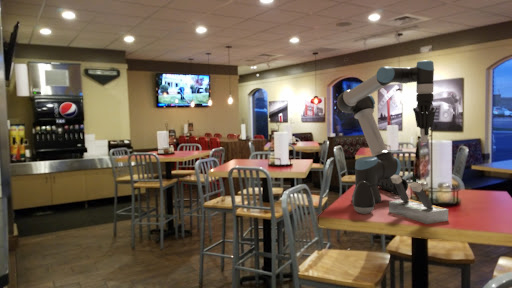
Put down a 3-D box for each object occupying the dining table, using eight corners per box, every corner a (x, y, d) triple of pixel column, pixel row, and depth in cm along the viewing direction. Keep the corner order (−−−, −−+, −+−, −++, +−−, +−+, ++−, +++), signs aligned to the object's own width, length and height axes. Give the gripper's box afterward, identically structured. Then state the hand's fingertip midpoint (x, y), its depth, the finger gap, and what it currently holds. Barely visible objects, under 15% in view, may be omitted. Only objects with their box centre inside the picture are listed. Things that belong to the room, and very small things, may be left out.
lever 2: (424, 209, 170) (409, 185, 166) (428, 205, 171) (413, 181, 167) (431, 211, 167) (415, 187, 163) (435, 207, 168) (419, 182, 164)
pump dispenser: (371, 216, 177) (371, 183, 176) (349, 213, 183) (349, 181, 182) (377, 211, 186) (378, 180, 185) (356, 209, 191) (356, 178, 190)
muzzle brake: (392, 196, 219) (392, 178, 218) (371, 187, 247) (371, 171, 246) (408, 195, 220) (408, 177, 220) (385, 186, 248) (385, 170, 247)
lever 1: (401, 202, 183) (390, 177, 180) (405, 199, 184) (394, 174, 181) (407, 204, 180) (395, 178, 177) (411, 201, 181) (399, 175, 177)
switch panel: (389, 212, 184) (389, 201, 184) (408, 209, 189) (408, 198, 188) (426, 224, 163) (427, 211, 163) (448, 220, 167) (448, 208, 167)
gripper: (441, 92, 183) (441, 142, 185) (420, 94, 195) (420, 141, 197) (429, 92, 180) (429, 143, 182) (408, 94, 192) (408, 141, 194)
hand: (424, 142), depth 189 cm, fingers closed
